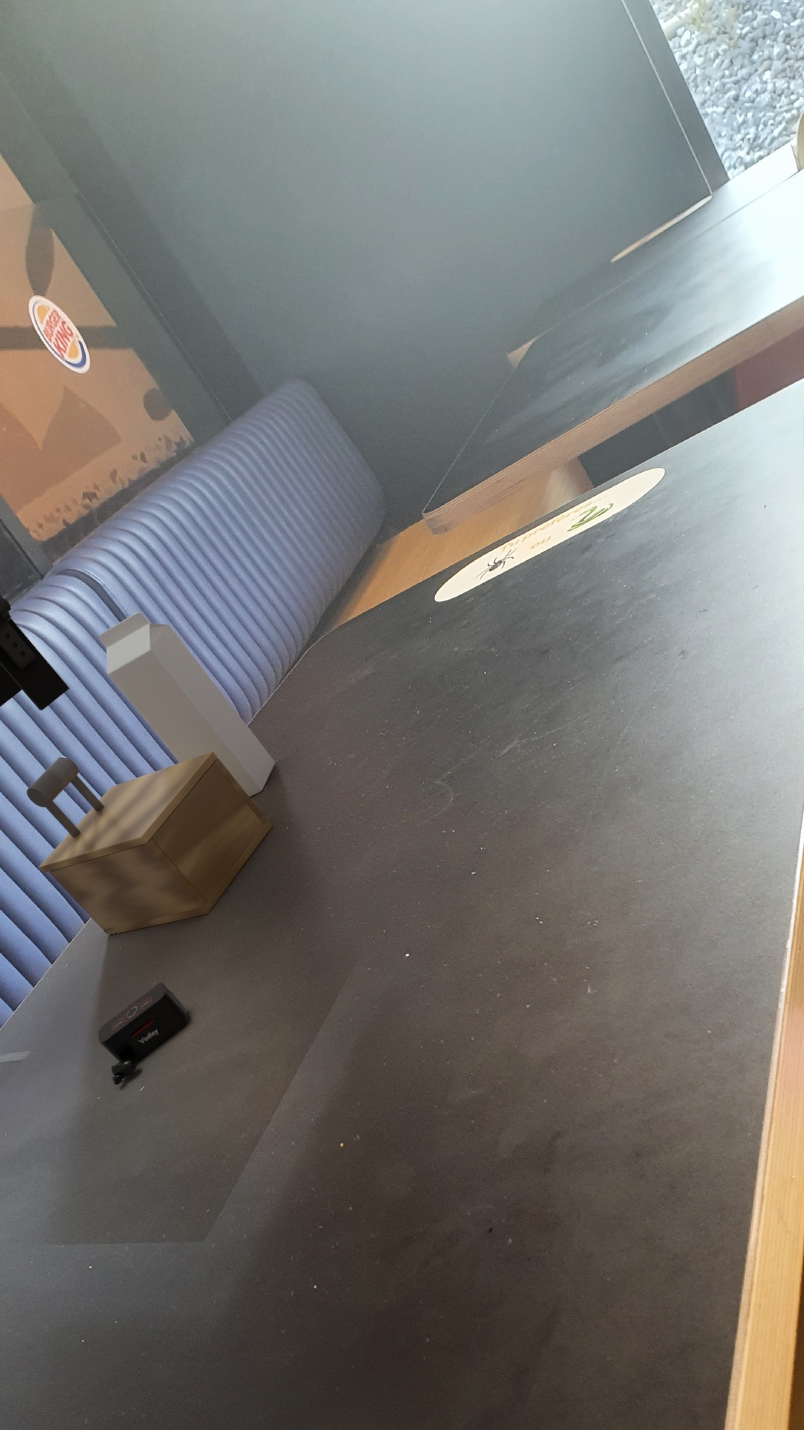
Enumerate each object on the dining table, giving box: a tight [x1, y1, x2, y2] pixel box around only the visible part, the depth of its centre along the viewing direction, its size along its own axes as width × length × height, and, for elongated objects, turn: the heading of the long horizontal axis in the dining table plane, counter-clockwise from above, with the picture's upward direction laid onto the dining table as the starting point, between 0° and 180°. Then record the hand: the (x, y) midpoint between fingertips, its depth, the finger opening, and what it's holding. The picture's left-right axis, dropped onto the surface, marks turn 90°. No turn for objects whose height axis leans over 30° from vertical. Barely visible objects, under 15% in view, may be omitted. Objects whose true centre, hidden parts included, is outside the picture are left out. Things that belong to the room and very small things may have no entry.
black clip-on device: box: [97, 982, 189, 1086], centre depth 91 cm, size 5×7×3 cm, turn 113°
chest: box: [48, 759, 273, 936], centre depth 114 cm, size 16×13×9 cm
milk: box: [97, 611, 276, 798], centre depth 123 cm, size 6×6×22 cm
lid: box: [26, 752, 218, 874], centre depth 110 cm, size 16×13×7 cm
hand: (31, 699), depth 94 cm, fingers open, 13 cm apart
